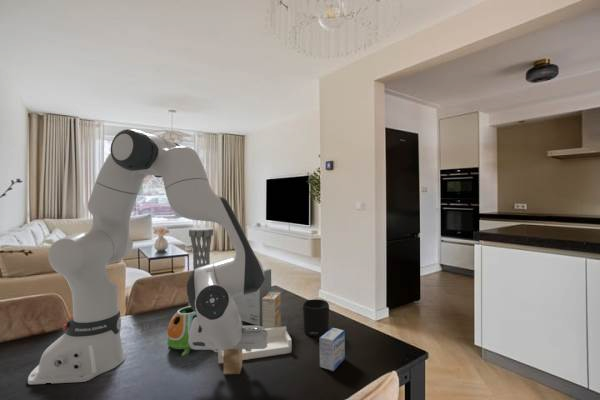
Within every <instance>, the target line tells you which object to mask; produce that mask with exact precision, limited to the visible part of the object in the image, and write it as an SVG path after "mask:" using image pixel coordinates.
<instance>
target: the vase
mask: <svg viewBox="0 0 600 400" xmlns="http://www.w3.org/2000/svg"><path fill="white" fill-rule="evenodd" d="M188 236H189V238H190V242H191V246H192V256H193V257H192V259H193V261H192V268H193V271H194V269H196V268H199V267H202V266H205V265H208V264H211V263H210V261H211V260H210V259H211V257H210V255H211V254H210V251H211V243H212V236H214V228H213V227H207V226H206V227H192V228H188ZM201 240H202V245H201ZM188 306H191V305H190V302H189V301H188V304H187V307H188Z"/></svg>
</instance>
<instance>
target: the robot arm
mask: <svg viewBox="0 0 600 400" xmlns="http://www.w3.org/2000/svg"><path fill="white" fill-rule="evenodd" d="M148 176H154V177H155V178H162V181H163V185H164V189H165V194H166V198H167V201H168V203H169V206H170V208H171V210H172V211H173V212H174V213H175V214H176V215H178V216H179V217H182V218H184V219H187V220H192V221H200V222H201V221H202V222H212V223H215V224H218V225H220V226H222V227H223V228H224V230H225V232H226V234H227V236H228V239H229V240H230V243H231V244H232V247H233V249H234V250H235V255H233V256H232V257H230V258H226V259H223V260H219V261H217V262H211V263H210V264H208V265H205V266H202V267H199V268H196V269H194V270H193V271H192V272H191V273H190V276H189V277H188V279H187V281H186V293H187V298H188V303H189V302H190V305H191V307H192V309H193V311H195V312H196V315H197V317H195V318H194V319H193V322H192V325H191V328H190V333H189V339H188V343H189V346H190V348H191V349H190V350H194V351H196V350H197V351H200V350H202V351H203V350H211V351H213V352H214V353H218V352H220V350H228V349H245V350H246V352H251V349H265V348H266V347H267V344H268V333H267V330H265V329H264V328H263V325H260V326H258V325H243V321H241V318H240V315H239V313H238V309H237V306H236V303H235V301H234V299H233V298H234V297H237V296H240V295H242V294H244V295H245V294H249V293H253V292H257V290H258V289H259V288H260V287H261V285H262V283H263V281H264V279H265V278H264V270H263V268H264V267H263V265H262V263H261V261H260V260H259V258H258V257H257V255H256V254H255V252H254V251H253V248H252V246H251V245H250V242H249V240H248V239H247V235H245V232H244V230H243V228H242V225H241V224H240V222H239V220H238V218H237V216H236V214H235V211H234V210H233V209H232V206H231V205H230V203H229V202H228V201H227V198H225V197H222V196H219V195H217V194H216V193H215V191H214V190H213V189H212V187H211V185H210V182H209V178H208V175H207V173H206V169H205V167H204V164H203V162H202V160H201V159H200V156H199V154H198V153H197V151H196V150H195V149H194V148H192V147H190V146H184V145H179V144H178V143H176V142H173V141H170V140H169V139H167V138H164V137H161V136H159V135H154V134H151V133H146V132H144V131H141V130H137V129H131V128H130V129H122V130H121V131H119V132H118V133H117V134H115V136H114V137H113V139H112V142H111V145H110V153H109V155H108V156H107V157H106V159H105V161H104V163H103V164H102V167H101V168H100V170H99V172H98V174H97V178H96V180H95V183H94V185H93V188H92V191H91V194H90V197H89V199H88V202H87V210H88V213H90V214H91V216H92V224H91V225H92V226H91V228H90V229H89V230H88V231H83V232H76V233H71V234H69V235H66V236H64V237H62V238H60V239H58V240H55V241H54V242H53V243H52V245H51V246H50V247H49V250H48V255H47V258H48V259H47V260H48V263H49V265H50V267H51V268H52V270H54V271H55V272H56V273H57V274H59V275H62V277H63V278H64V279H65V280H66V282H67V284H68V286H69V288H70V292H71V298H72V300H71V301H72V315H71V316H70V317H69V319H68V320H67V321H66V322H65V324H64V325H63V326H62V327H63V329H62V331H65V333H63V334H62V335H61V336H60V337H59V338H57V339H56V340H55V341H54V342H52V343H51V344H50V345H49V346H48V347H47V348H46V349H45V350H44V351H43V353H42V355H41V357H40V359H39V364H38V365H37V366H35V368H34V369H32V371H31V372H30V374H29V375H28V377H27V384H28V385H45V384H46V383H51V384H65V383H67V384H68V383H83V382H84V383H85V382H87V381H90V380H92V379H94V378H95V377H97V376H99V375H102V374H104V373H107V372H108V371H110V370H111V371H112V370H113V369H114V368H116V367H118V366H119V365H121V364H122V363H123V362H124V360H125V359H126V356H127V355H126V353H125V350H124V347H123V343H122V338H121V328H122V317H121V310H119V287H118V285H117V284H116V282H114V281H112V280H111V279H110V276H109V275H108V271H107V266H108V265H112V264H115V263H117V262H119V261H121V260H123V259H124V258H125V257H126V256H128V255H129V254H130V253H131V251H132V250H133V245H134V242H133V237H132V236H131V234H130V221H131V215H132V212H133V209H134V206H135V203H136V201H137V197H138V194H139V192H140V190H141V187H142V183H143V181H144V179H146V178H147V177H148Z"/></svg>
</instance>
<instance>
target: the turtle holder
mask: <svg viewBox="0 0 600 400" xmlns="http://www.w3.org/2000/svg"><path fill="white" fill-rule="evenodd" d="M182 312H183V313H182ZM195 317H197V315H196V312H195V311H193V309H192V307H191V306H188V305H187V306H185V307H182V308H179V309H178V310H177V312H175V314H173V316H172V318H170V321H169V324H168V326H167V331H166V337H167V341H166V342H167V347H168V348H171V349H173V350H174V349H175V350H183V351H182V353H181V354H180V355H181V357H185V356H187V355H189V354H190V353H191V350H192V349H191V348H190V346H189V343H188V339H189V333H190V328H191V325H192V322H193V319H194V318H195Z"/></svg>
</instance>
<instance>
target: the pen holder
mask: <svg viewBox="0 0 600 400" xmlns="http://www.w3.org/2000/svg"><path fill="white" fill-rule="evenodd" d="M329 317H330V305H329V302H328V301H327V300H323V299H318V298H317V299H315V298H314V299H307V300H305V301H304V303H303V305H302V319H303V321H302V322H303V331H304V333H305V334H306V335H307V336H310V337H319V338H320V337H321V336H323V335H324V334H325V333H326V332H327V331H329V319H330V318H329Z"/></svg>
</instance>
